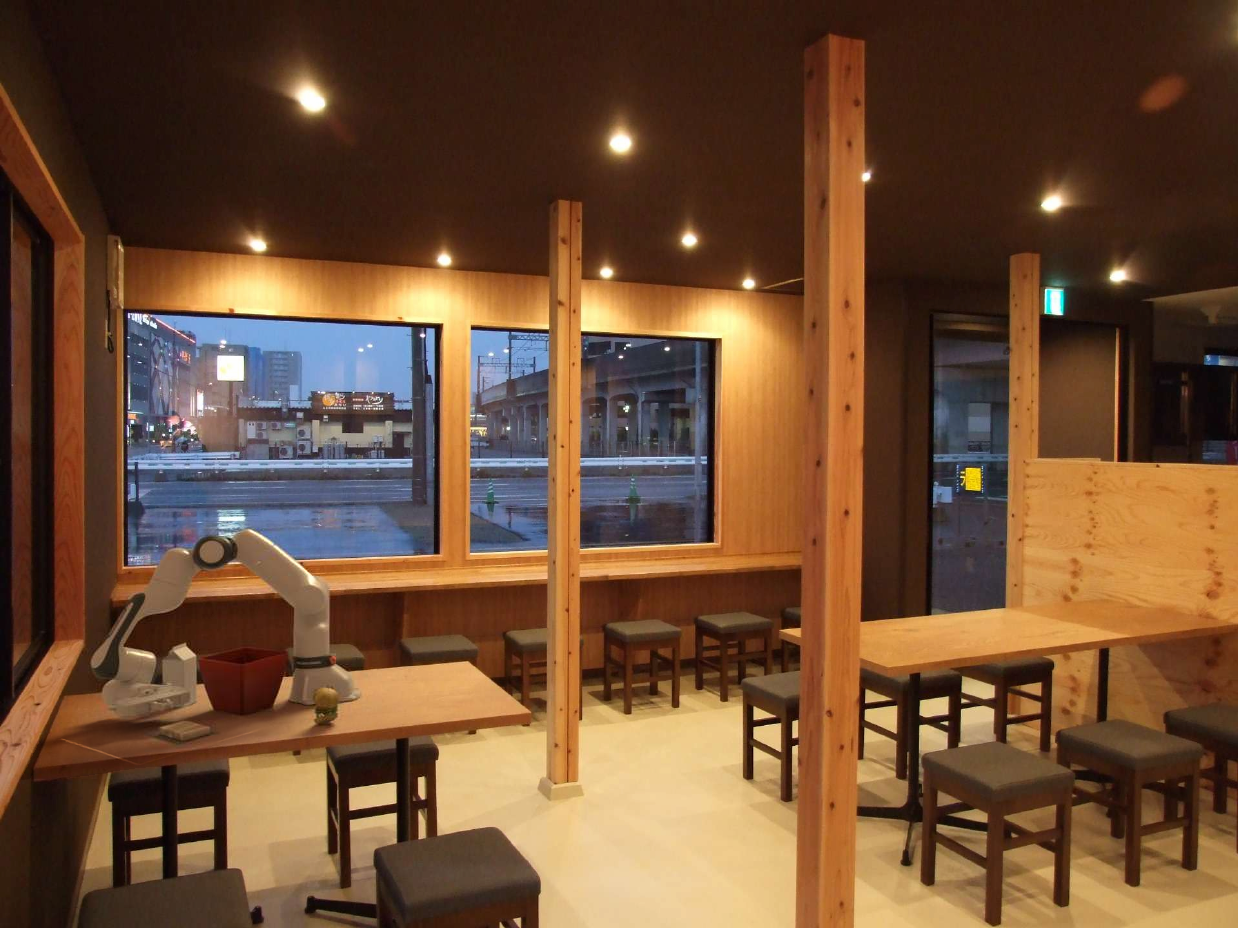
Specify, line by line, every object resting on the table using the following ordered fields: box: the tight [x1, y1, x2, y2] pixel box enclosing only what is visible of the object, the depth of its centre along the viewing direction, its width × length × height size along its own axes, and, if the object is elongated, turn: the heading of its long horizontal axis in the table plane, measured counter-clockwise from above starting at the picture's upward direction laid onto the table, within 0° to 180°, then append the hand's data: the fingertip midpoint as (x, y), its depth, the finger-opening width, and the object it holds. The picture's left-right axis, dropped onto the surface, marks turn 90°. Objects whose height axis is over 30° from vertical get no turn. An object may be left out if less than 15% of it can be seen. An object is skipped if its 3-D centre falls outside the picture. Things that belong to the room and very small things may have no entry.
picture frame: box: [158, 720, 211, 741], centre depth 257 cm, size 2×8×12 cm
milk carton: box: [162, 642, 198, 709], centre depth 289 cm, size 7×7×19 cm
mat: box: [146, 730, 219, 745], centre depth 258 cm, size 16×12×1 cm
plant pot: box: [198, 646, 289, 716], centre depth 285 cm, size 19×19×17 cm
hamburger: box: [313, 685, 340, 725], centre depth 267 cm, size 8×7×12 cm
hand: (167, 706), depth 261 cm, fingers closed
